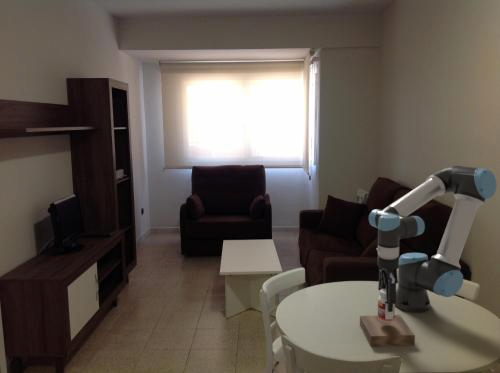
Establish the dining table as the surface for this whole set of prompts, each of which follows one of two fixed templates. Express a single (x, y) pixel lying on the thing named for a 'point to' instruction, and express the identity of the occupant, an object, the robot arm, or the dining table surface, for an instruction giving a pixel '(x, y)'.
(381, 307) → the pill bottle
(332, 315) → the dining table surface
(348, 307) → the dining table surface
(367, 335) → the walnut block
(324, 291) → the dining table surface
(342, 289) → the dining table surface
